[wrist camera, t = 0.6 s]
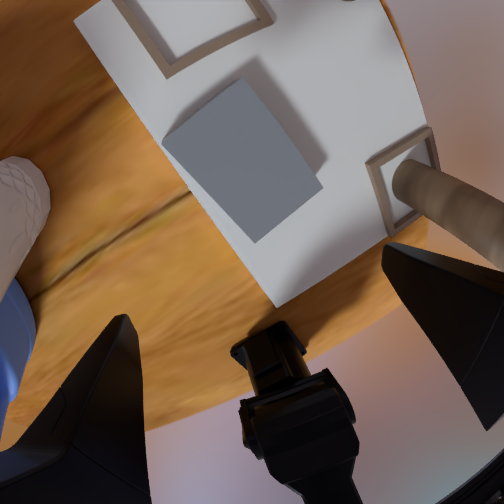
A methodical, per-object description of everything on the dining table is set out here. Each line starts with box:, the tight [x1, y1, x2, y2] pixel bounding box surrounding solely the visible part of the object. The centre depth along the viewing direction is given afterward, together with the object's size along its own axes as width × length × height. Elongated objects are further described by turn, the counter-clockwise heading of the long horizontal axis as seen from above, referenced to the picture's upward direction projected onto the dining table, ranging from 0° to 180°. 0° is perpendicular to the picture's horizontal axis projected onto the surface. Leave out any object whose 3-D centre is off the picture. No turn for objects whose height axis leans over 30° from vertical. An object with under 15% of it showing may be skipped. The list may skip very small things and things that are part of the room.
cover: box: [161, 77, 323, 243], centre depth 18 cm, size 9×6×2 cm, turn 37°
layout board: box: [73, 0, 441, 308], centre depth 18 cm, size 28×20×2 cm
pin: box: [392, 159, 504, 272], centre depth 18 cm, size 4×4×13 cm
